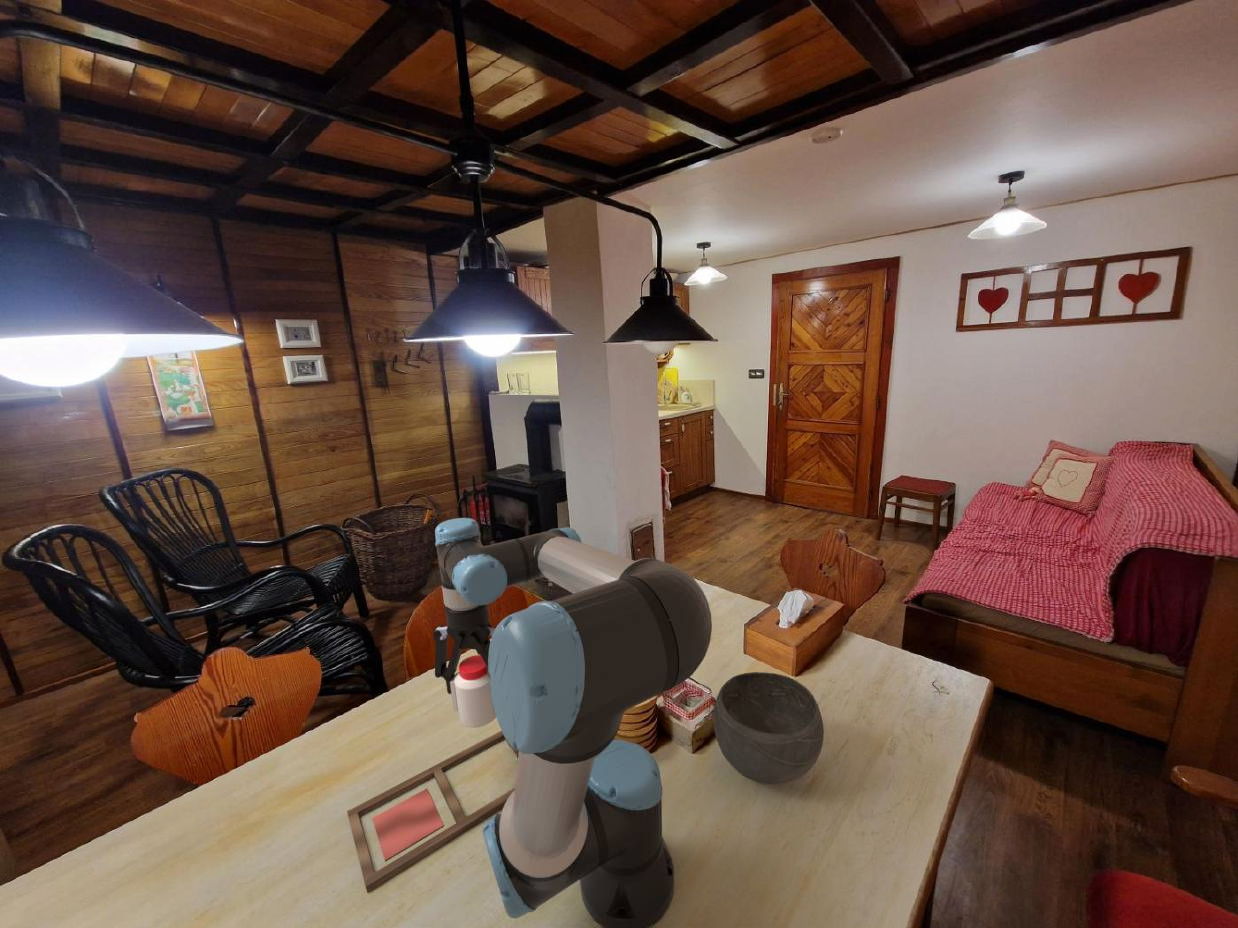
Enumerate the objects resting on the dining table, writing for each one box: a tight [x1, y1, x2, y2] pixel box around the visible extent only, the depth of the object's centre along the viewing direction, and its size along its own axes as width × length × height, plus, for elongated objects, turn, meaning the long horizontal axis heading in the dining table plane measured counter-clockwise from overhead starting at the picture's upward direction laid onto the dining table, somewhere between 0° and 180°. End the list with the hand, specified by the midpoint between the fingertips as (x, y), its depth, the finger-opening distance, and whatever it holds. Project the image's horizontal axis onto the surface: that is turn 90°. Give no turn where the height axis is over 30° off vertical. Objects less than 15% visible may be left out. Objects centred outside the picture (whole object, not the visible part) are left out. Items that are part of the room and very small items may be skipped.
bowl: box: [712, 671, 825, 786], centre depth 99 cm, size 21×21×15 cm
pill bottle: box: [454, 654, 497, 729], centre depth 95 cm, size 8×8×11 cm
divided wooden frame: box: [347, 730, 519, 893], centre depth 95 cm, size 17×32×1 cm, turn 127°
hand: (479, 707), depth 96 cm, fingers closed on pill bottle, 8 cm apart
